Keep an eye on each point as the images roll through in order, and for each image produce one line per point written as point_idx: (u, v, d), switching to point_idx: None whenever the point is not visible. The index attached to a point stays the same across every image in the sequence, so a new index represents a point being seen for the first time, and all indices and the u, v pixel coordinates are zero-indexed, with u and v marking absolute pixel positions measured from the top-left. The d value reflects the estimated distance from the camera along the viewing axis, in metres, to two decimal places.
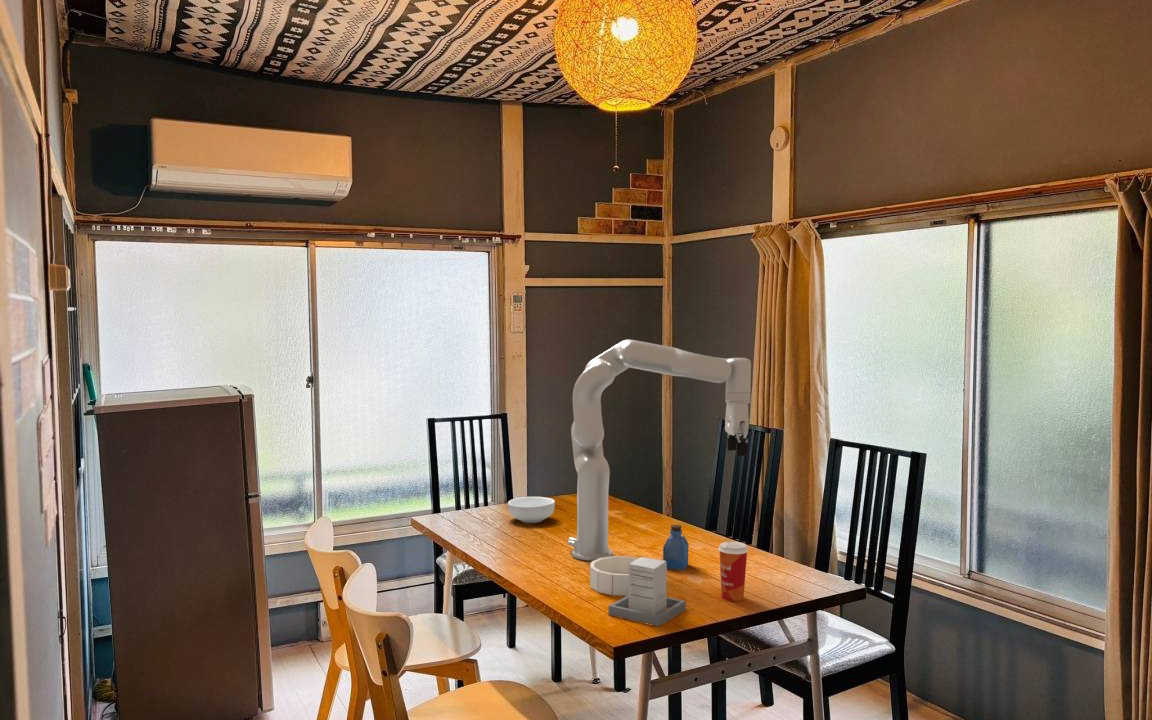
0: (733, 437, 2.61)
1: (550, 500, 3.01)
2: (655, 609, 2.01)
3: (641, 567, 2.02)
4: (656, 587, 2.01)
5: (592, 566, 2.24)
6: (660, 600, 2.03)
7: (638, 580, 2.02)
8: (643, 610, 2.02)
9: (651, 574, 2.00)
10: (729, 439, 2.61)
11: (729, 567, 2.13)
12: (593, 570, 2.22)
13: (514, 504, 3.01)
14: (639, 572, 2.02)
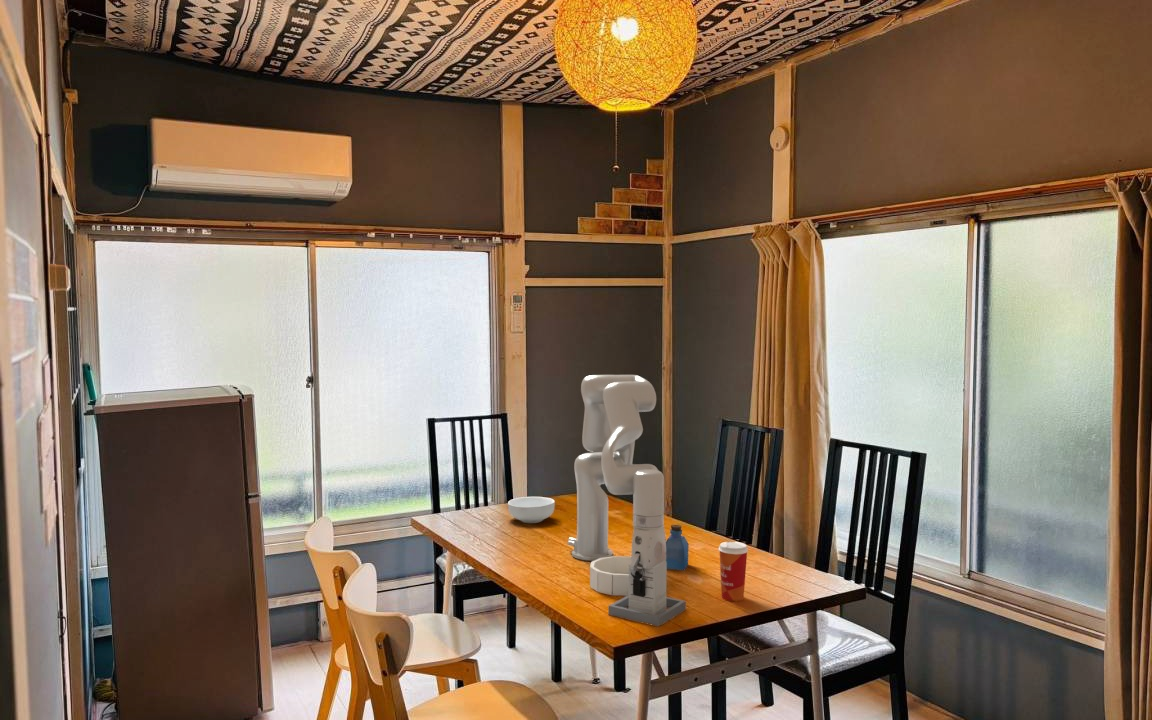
0: None
1: (550, 500, 3.01)
2: (655, 609, 2.01)
3: None
4: (656, 587, 2.01)
5: (592, 566, 2.24)
6: (660, 599, 2.03)
7: None
8: (643, 610, 2.02)
9: (651, 574, 2.00)
10: None
11: (729, 567, 2.13)
12: (593, 570, 2.22)
13: (514, 504, 3.01)
14: (639, 572, 2.02)
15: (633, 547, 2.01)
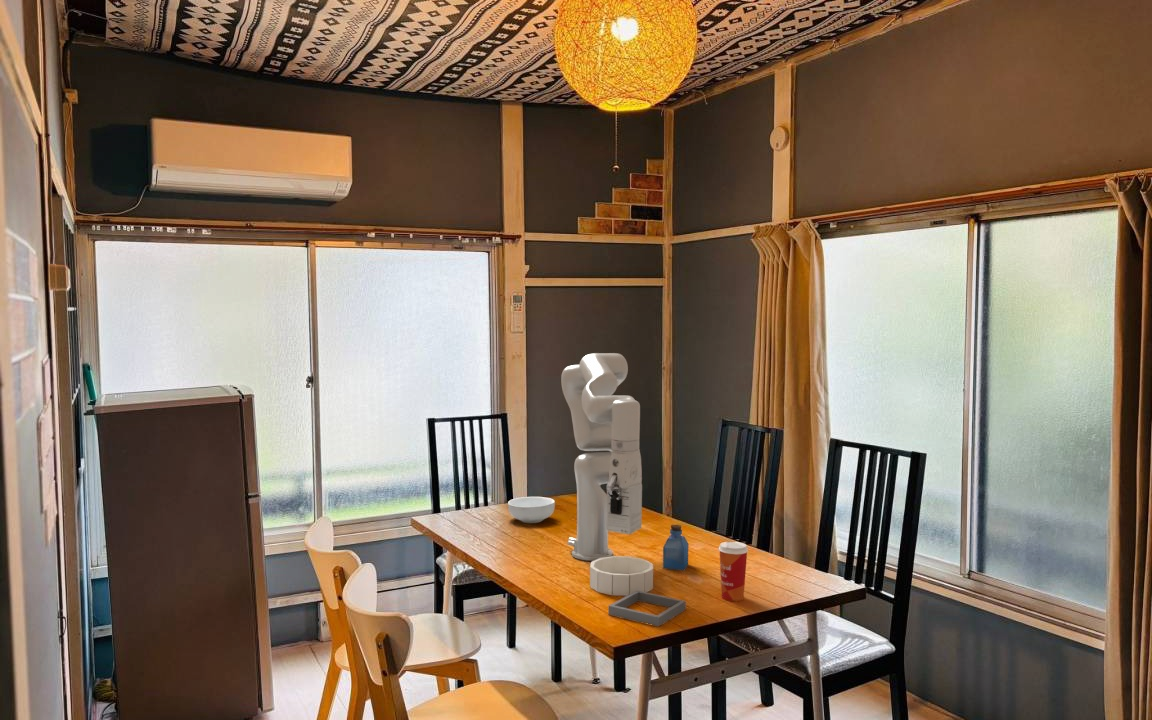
0: None
1: (550, 500, 3.01)
2: (630, 525, 2.19)
3: None
4: (631, 505, 2.19)
5: (592, 566, 2.24)
6: (635, 518, 2.21)
7: None
8: (619, 527, 2.20)
9: (627, 493, 2.18)
10: None
11: (729, 567, 2.13)
12: (593, 570, 2.22)
13: (514, 504, 3.01)
14: (616, 492, 2.20)
15: (611, 469, 2.19)
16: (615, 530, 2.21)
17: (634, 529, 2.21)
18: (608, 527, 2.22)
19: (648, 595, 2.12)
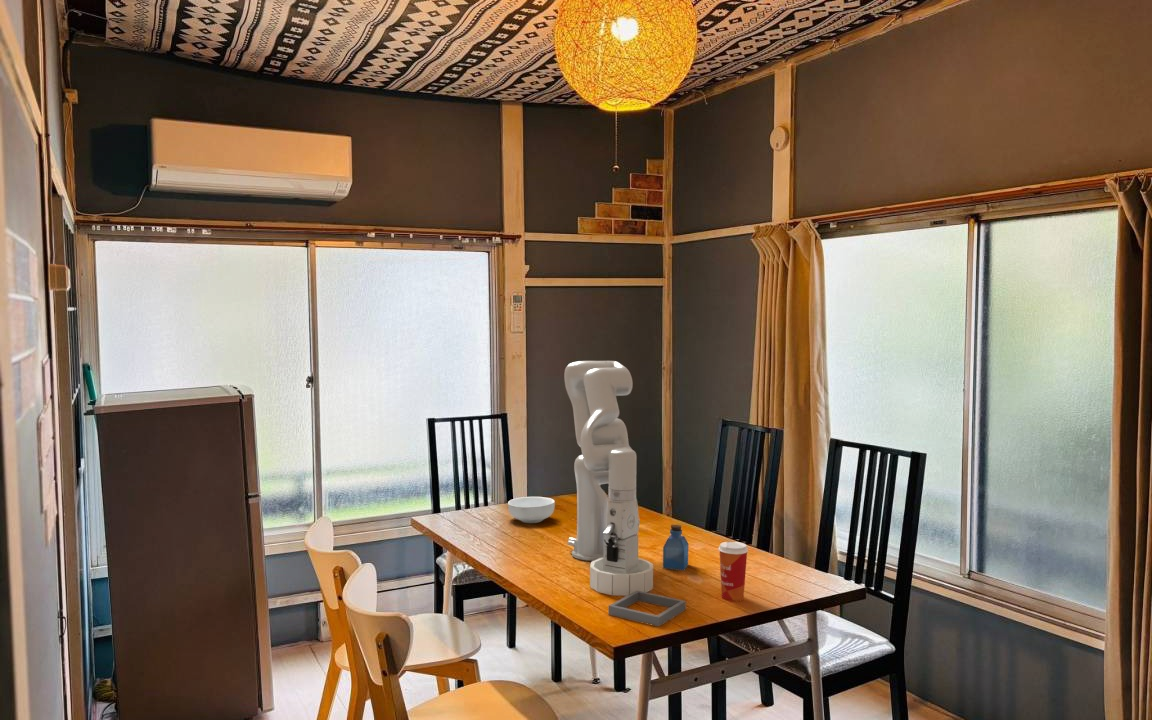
0: None
1: (550, 500, 3.01)
2: None
3: None
4: (627, 558, 2.21)
5: (592, 566, 2.24)
6: (632, 570, 2.23)
7: None
8: None
9: (623, 546, 2.21)
10: None
11: (729, 567, 2.13)
12: (593, 570, 2.22)
13: (514, 504, 3.01)
14: None
15: (608, 518, 2.22)
16: None
17: None
18: None
19: (648, 595, 2.12)
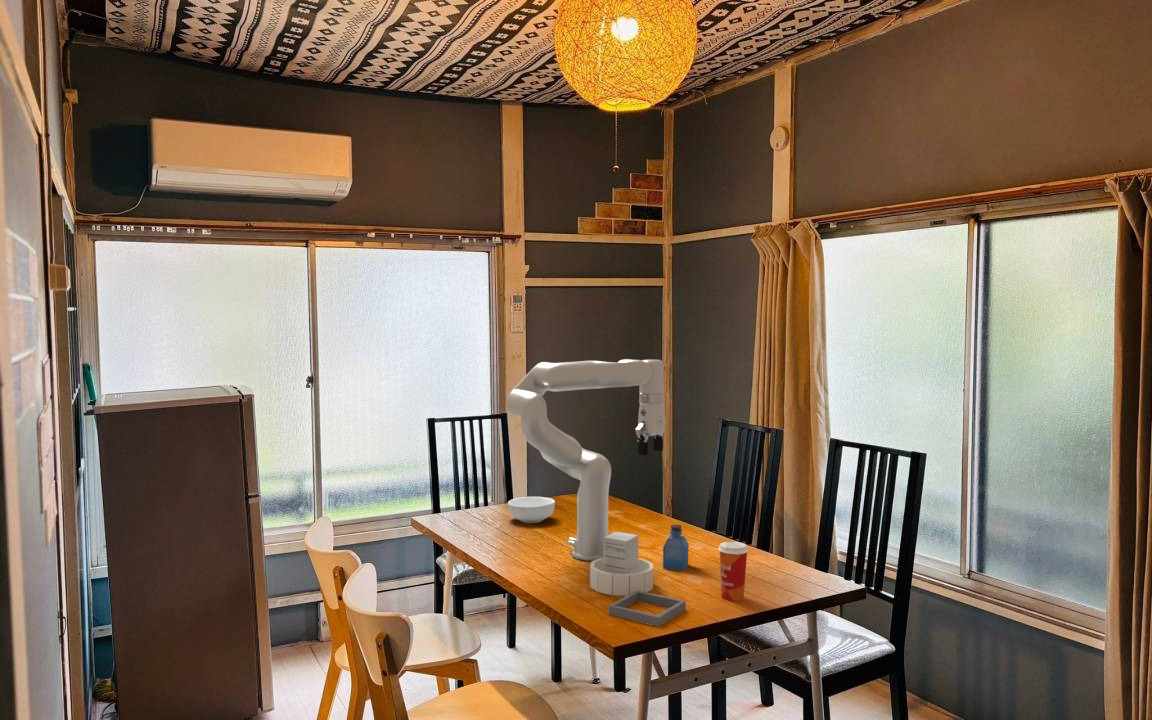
0: None
1: (550, 500, 3.01)
2: None
3: (614, 540, 2.22)
4: (627, 558, 2.21)
5: (592, 566, 2.24)
6: (632, 570, 2.23)
7: (612, 552, 2.23)
8: None
9: (623, 546, 2.21)
10: None
11: (729, 567, 2.13)
12: (593, 570, 2.22)
13: (514, 504, 3.01)
14: (613, 545, 2.22)
15: (639, 418, 2.58)
16: None
17: None
18: None
19: (648, 595, 2.12)
